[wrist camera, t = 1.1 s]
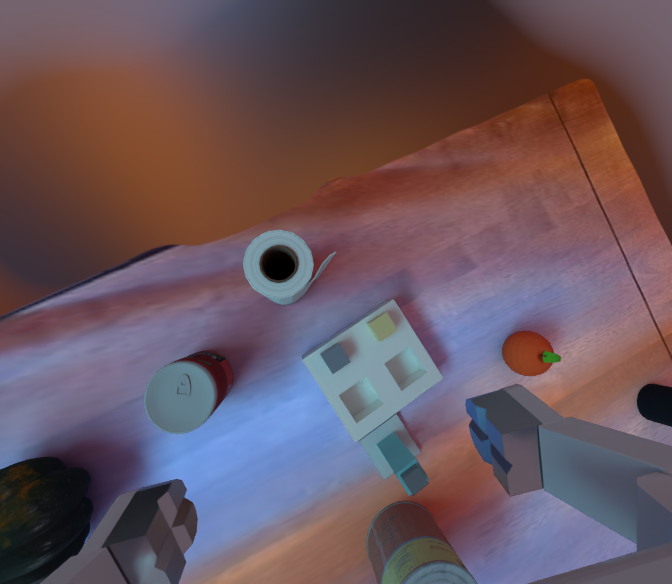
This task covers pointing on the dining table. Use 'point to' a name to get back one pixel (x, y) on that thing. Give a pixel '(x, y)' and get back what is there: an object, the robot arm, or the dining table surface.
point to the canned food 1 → (187, 391)
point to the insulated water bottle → (656, 403)
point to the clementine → (528, 353)
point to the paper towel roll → (280, 266)
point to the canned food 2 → (412, 548)
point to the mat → (379, 434)
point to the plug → (403, 464)
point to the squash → (41, 518)
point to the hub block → (372, 368)
